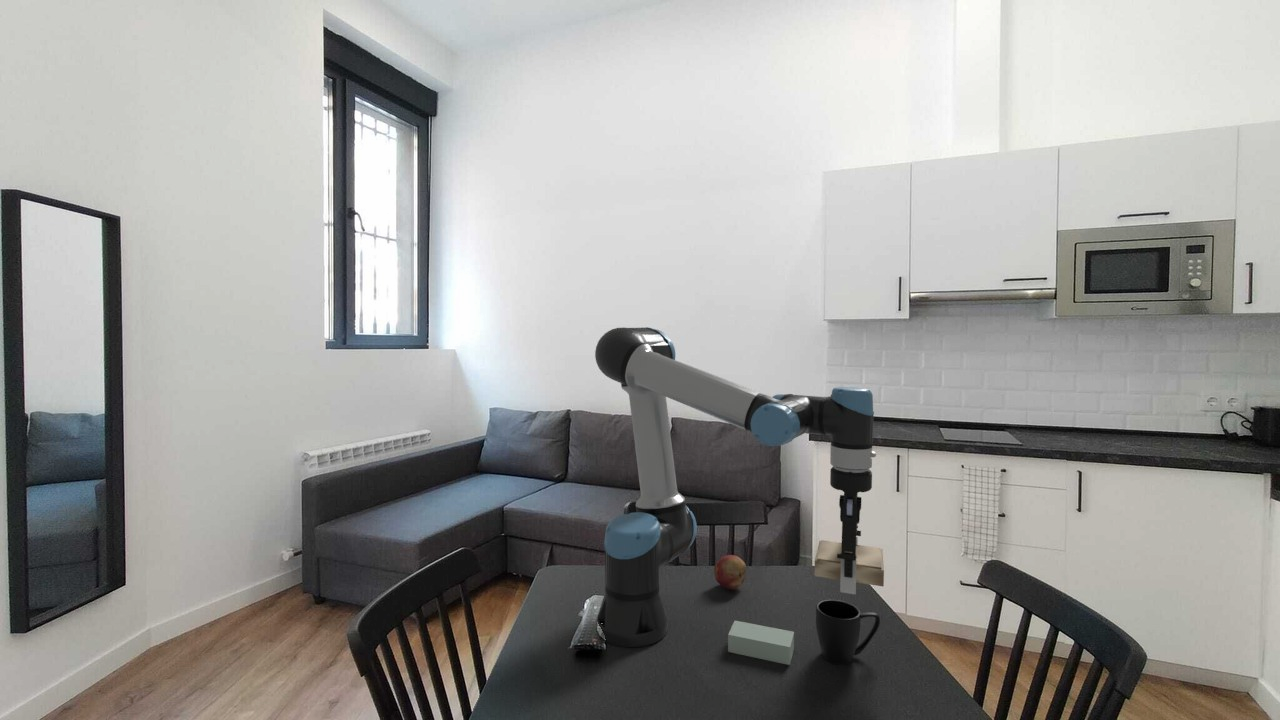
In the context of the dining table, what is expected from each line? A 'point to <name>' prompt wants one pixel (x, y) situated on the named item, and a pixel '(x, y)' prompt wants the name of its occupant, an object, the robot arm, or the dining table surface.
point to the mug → (841, 630)
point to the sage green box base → (761, 642)
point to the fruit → (730, 571)
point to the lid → (866, 564)
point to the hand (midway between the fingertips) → (849, 579)
